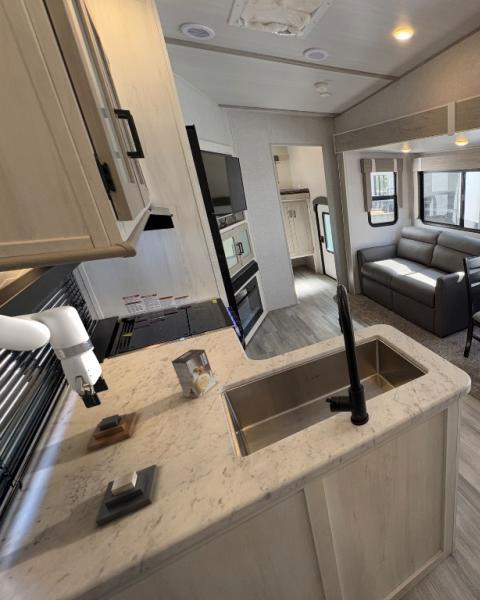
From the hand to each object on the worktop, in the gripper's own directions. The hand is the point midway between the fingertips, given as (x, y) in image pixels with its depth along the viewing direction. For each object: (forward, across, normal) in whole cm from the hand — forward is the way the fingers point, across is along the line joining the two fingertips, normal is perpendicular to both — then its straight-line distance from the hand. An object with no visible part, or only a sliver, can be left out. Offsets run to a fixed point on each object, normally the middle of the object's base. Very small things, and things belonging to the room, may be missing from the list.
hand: (98, 398), depth 95 cm
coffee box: (+14, -10, +24) cm, 30 cm away
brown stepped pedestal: (+14, 0, 0) cm, 14 cm away
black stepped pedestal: (+14, +32, +9) cm, 36 cm away
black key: (+10, 0, 0) cm, 10 cm away
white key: (+10, +32, +9) cm, 35 cm away
